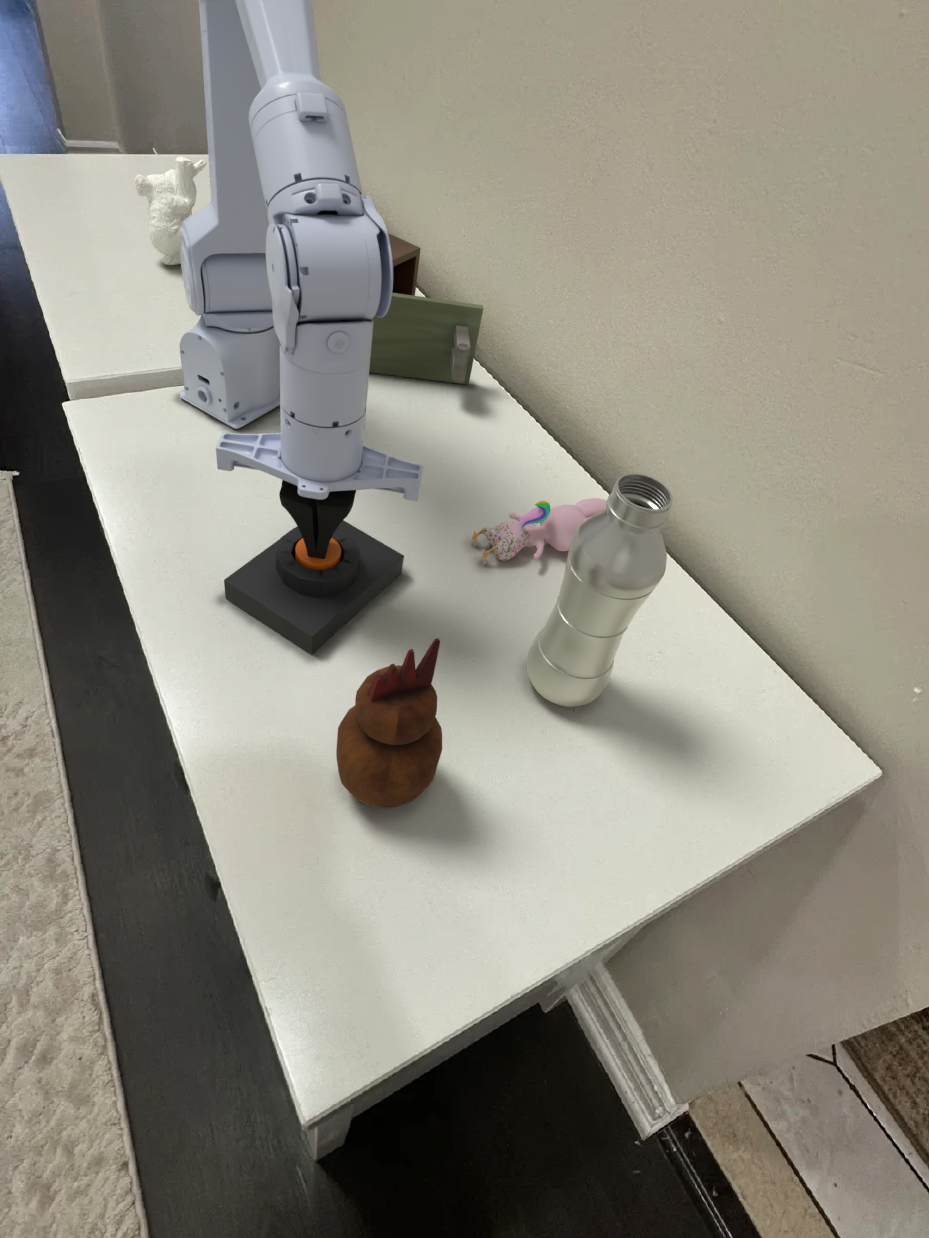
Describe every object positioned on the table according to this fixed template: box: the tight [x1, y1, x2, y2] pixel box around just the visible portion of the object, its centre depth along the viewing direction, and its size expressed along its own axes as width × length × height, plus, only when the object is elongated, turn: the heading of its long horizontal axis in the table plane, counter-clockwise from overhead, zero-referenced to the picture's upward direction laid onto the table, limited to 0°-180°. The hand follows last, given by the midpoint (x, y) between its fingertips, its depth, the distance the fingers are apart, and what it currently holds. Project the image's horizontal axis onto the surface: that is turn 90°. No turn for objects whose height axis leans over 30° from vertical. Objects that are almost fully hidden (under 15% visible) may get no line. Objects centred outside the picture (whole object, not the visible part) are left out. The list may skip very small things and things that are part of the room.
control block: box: [223, 519, 405, 655], centre depth 63 cm, size 12×9×4 cm
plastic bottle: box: [526, 472, 674, 708], centre depth 55 cm, size 6×7×20 cm
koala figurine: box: [134, 156, 208, 266], centre depth 93 cm, size 8×7×12 cm
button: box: [295, 538, 341, 570], centre depth 62 cm, size 4×4×2 cm
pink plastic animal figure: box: [471, 497, 607, 565], centre depth 71 cm, size 6×6×15 cm
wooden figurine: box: [335, 637, 443, 809], centre depth 48 cm, size 7×6×15 cm
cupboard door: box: [369, 293, 484, 385], centre depth 83 cm, size 6×15×9 cm, turn 93°
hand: (318, 549), depth 62 cm, fingers closed, pressing on button
